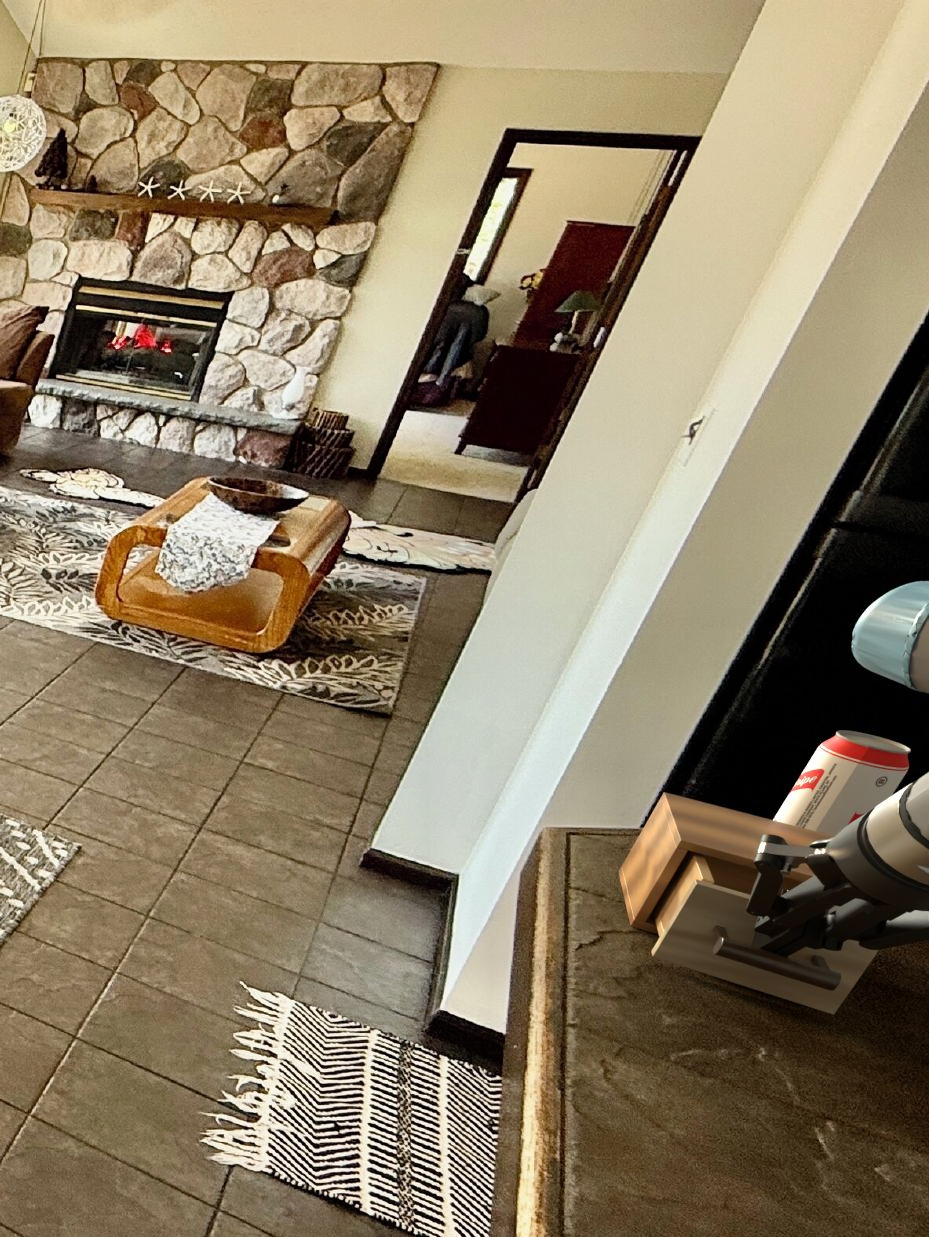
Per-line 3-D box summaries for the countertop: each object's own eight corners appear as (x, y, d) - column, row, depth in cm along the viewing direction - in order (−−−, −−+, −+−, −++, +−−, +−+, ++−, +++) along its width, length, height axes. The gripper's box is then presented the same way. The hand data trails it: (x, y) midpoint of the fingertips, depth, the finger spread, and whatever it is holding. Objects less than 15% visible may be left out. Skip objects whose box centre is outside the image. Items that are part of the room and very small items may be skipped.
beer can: (835, 881, 125) (923, 747, 119) (825, 896, 122) (915, 758, 115) (753, 854, 130) (834, 723, 123) (741, 868, 126) (823, 734, 120)
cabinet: (818, 984, 105) (879, 894, 102) (630, 926, 113) (680, 839, 109) (788, 922, 116) (843, 838, 112) (618, 872, 123) (663, 791, 119)
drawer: (847, 1042, 96) (902, 963, 93) (657, 980, 102) (704, 905, 99) (803, 951, 109) (850, 879, 106) (638, 901, 116) (678, 832, 112)
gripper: (791, 853, 84) (649, 949, 103) (1077, 931, 77) (867, 1020, 96) (818, 766, 86) (673, 876, 105) (1100, 834, 78) (889, 940, 97)
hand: (766, 945), depth 100 cm, fingers closed
